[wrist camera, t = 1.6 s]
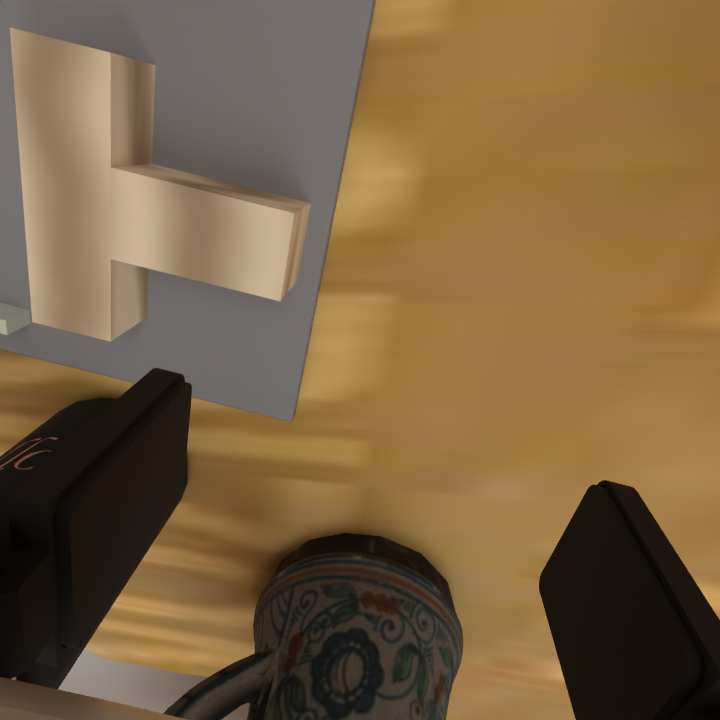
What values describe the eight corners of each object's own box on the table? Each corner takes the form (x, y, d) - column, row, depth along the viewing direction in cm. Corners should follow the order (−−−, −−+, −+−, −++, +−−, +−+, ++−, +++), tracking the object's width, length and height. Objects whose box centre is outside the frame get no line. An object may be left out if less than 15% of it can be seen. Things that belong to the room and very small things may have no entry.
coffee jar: (179, 390, 34) (-41, 625, 17) (206, 510, 38) (51, 786, 22) (38, 389, 35) (-290, 608, 19) (80, 505, 39) (-155, 764, 23)
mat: (375, 1, 23) (370, -17, 21) (295, 414, 34) (284, 438, 31) (-148, -129, 23) (-222, -165, 21) (-69, 323, 34) (-111, 339, 31)
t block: (327, 108, 25) (312, 103, 21) (285, 352, 30) (267, 380, 27) (69, 43, 25) (9, 27, 21) (77, 300, 30) (32, 321, 27)
